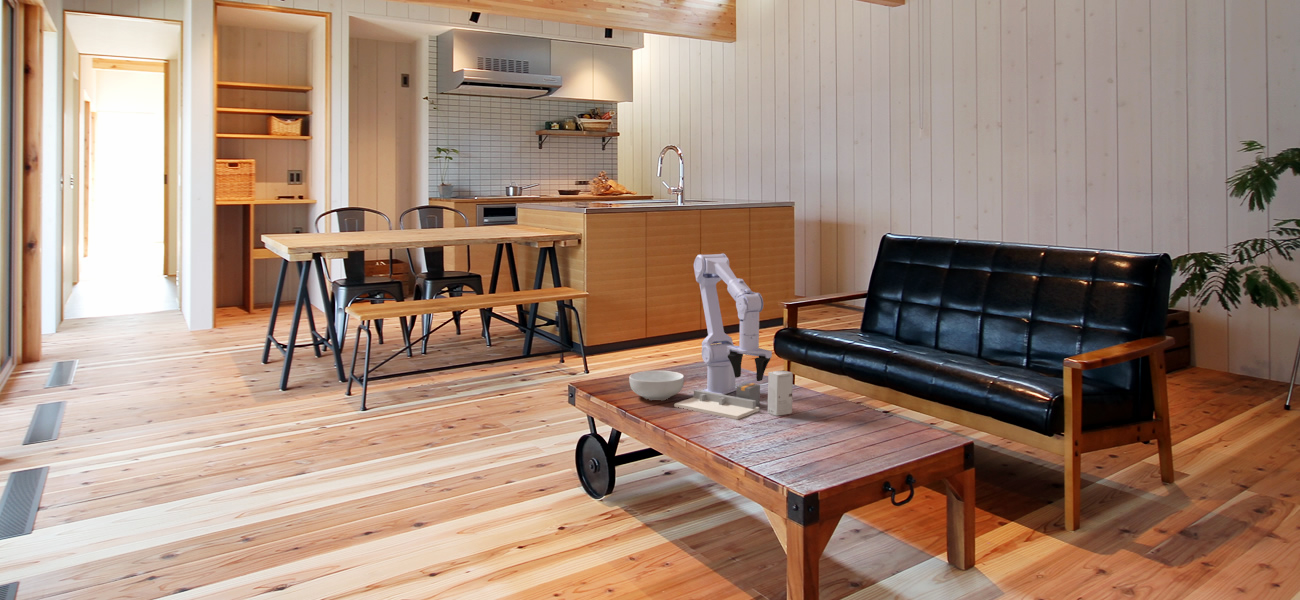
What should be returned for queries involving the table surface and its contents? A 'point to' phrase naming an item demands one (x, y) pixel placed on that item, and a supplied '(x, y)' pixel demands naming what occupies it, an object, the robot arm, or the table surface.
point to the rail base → (719, 405)
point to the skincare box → (780, 392)
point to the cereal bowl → (656, 384)
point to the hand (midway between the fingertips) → (748, 378)
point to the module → (749, 392)
